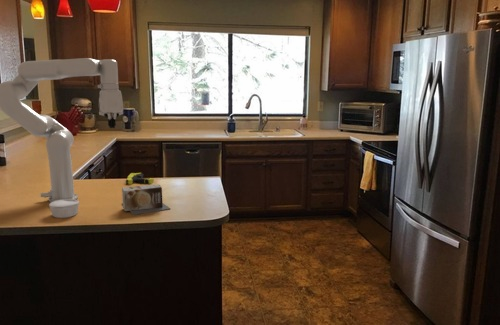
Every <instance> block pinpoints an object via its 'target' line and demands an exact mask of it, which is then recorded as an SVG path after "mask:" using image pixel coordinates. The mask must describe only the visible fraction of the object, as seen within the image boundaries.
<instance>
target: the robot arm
mask: <svg viewBox="0 0 500 325" xmlns="http://www.w3.org/2000/svg"><path fill="white" fill-rule="evenodd" d="M96 76H100V84H97V89H101V90H99V97H98V109H99V112H98V114H99V116H103V117H104V118H106V119H107V125H108V127H109V128H110V129H115V128H116V125H117V123H116V119H117V118H118V117H119V116H121V115H124V102H123V94H122V91H121V90H119V88H120V87H119V69H118V61H116V60H115V59H111V58H109V59H94V58H89V57H85V58H84V57H83V58H70V59H69V58H67V59H66V58H65V59H44V60H27V61H23V62H21V63H20V64H19V65H18V67H17V76H16V77H14V79H13V80H5V81H3V82H0V110H1V111H2V112H3V113H4V114H5V115H7V116H8V117H9V118H10V119H12V120H13V121H15V122H16V123H17V124H18V125H19V126H20V127H22V128H23V129H24V130H25V131H27V132H28V133H30V135H33V136H35V137H38V138H39V137H43V138H45V139H46V141H45V147H46V151H47V156H48V166H49V176H50V177H49V178H50V189H49V191H47V192H40V194H39V195H40V197H41V198H48V201H49V202H50V203H51V202H53V201H57V200H64V199H73V200H77V199H79V195H78V194H77V193H75V189H74V187H75V186H74V176H73V175H74V174H73V163H72V162H73V161H72V155H71V147H72V146H73V144H74V141H75V139H74V135H73V133H72V132H71V131H70V130H69V129H67V127H65V126H63V125H62V124H61V123H59V122H58V120H56V119H54V118H53V117H52V116H50V115H47V114H39V113H38V112H36V111H35V110H33V109H32V108H31V107H30V106H28V105H27V104H26V103H25V102H22V101H21V100H22V99H25V98H26V97H27V96H28V95H29V94H30V93H31V92H32V91H33V89H34V88H35V87H36V86H38V84H39V82H41V81H51V80H52V81H54V80H63V79H66V78H73V77H75V78H76V77H96ZM111 113H112V114H111Z"/></svg>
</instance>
